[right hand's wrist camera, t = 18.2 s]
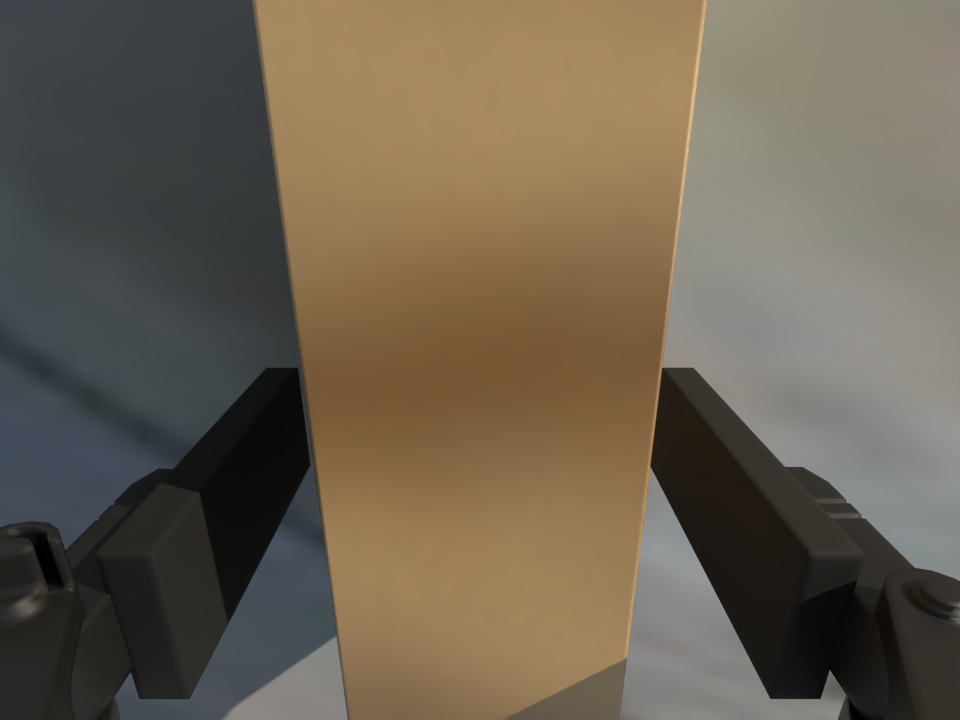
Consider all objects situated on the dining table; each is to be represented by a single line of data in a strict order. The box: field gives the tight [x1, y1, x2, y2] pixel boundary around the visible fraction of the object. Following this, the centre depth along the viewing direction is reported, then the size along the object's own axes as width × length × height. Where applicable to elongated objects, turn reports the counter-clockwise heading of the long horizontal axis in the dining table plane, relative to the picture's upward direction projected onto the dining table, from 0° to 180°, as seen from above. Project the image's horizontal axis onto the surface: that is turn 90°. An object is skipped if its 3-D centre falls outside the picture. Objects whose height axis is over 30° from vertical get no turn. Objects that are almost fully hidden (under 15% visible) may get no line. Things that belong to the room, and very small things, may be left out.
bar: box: [252, 0, 707, 720], centre depth 9 cm, size 24×5×9 cm, turn 0°
